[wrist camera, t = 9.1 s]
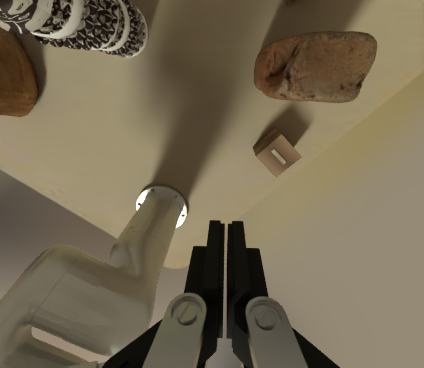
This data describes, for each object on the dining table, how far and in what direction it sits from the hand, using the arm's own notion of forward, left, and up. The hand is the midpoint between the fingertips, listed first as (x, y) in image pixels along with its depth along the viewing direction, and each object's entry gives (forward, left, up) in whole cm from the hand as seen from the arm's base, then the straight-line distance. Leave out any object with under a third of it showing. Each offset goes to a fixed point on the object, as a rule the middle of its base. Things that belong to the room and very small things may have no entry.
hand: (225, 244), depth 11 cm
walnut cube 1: (+3, -11, -37) cm, 39 cm away
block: (+13, -1, -37) cm, 40 cm away
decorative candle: (-2, +24, -37) cm, 44 cm away
